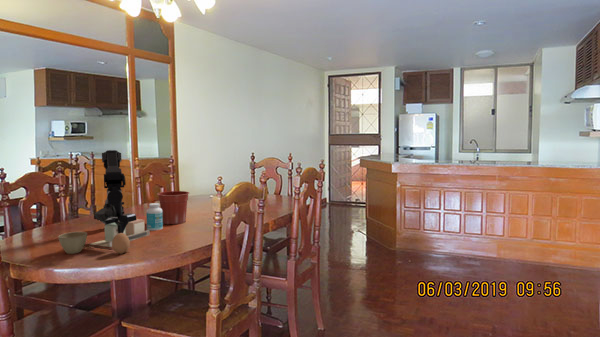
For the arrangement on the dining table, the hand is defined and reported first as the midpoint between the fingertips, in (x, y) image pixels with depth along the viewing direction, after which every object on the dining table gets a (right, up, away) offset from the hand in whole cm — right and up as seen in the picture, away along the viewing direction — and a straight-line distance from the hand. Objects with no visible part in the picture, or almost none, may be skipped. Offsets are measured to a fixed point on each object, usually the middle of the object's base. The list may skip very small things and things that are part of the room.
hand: (115, 236), depth 171 cm
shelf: (0, -3, +4) cm, 6 cm away
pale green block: (0, -2, 0) cm, 2 cm away
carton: (+4, -2, +10) cm, 11 cm away
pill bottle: (+8, -2, +25) cm, 26 cm away
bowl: (-12, -5, -11) cm, 17 cm away
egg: (+8, -5, -13) cm, 16 cm away
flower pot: (+11, 0, +45) cm, 47 cm away
